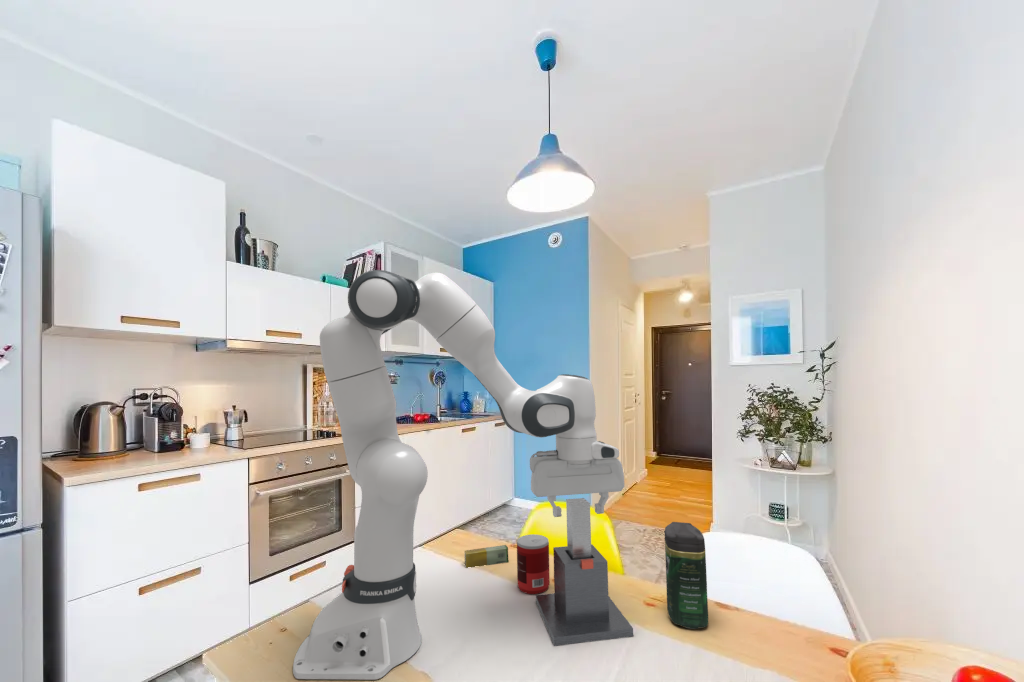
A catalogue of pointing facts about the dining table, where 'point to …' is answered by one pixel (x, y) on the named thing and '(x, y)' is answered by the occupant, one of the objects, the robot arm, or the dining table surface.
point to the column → (578, 529)
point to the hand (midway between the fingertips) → (578, 514)
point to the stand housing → (581, 602)
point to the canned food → (533, 564)
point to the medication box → (486, 556)
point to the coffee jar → (686, 575)
